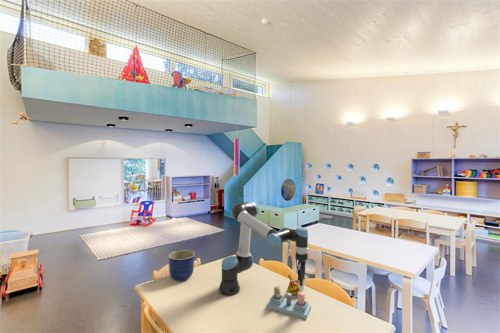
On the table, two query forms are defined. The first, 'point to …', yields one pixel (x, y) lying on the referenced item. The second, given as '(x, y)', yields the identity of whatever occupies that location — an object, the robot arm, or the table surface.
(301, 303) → the knob coral
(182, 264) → the planter
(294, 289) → the toy
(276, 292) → the knob beech
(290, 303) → the dial post
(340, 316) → the table surface
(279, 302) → the mount board
